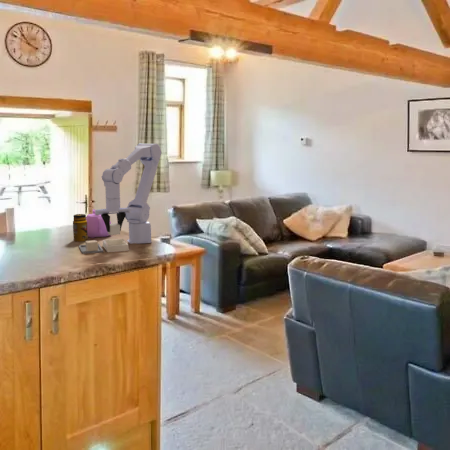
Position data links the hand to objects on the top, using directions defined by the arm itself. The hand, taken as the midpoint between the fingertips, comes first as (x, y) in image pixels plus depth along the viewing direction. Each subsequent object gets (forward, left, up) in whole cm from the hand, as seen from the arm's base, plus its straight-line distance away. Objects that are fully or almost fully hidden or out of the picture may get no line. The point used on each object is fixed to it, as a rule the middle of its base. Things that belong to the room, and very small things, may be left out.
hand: (113, 231), depth 213 cm
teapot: (+3, -31, -8) cm, 32 cm away
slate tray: (+10, +1, -7) cm, 12 cm away
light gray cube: (0, 0, -1) cm, 1 cm away
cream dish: (0, +2, -7) cm, 8 cm away
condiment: (+12, -19, -8) cm, 24 cm away
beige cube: (+10, +5, -7) cm, 13 cm away
